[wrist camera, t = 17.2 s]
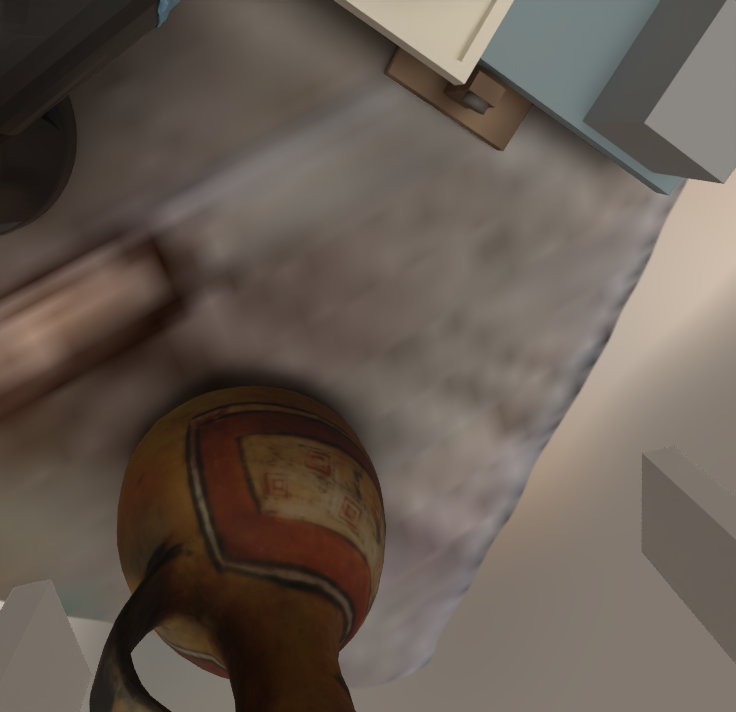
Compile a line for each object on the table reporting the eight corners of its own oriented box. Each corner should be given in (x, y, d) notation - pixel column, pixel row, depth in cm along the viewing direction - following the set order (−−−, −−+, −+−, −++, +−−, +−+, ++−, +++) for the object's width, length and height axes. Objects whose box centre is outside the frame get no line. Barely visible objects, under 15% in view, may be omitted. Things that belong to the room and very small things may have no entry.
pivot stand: (384, 73, 45) (405, 64, 37) (504, -143, 41) (554, -201, 34) (496, 149, 47) (537, 155, 40) (618, -47, 44) (687, -80, 36)
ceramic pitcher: (331, 585, 60) (377, 994, 32) (111, 541, 55) (-60, 977, 27) (405, 403, 54) (541, 708, 26) (167, 336, 49) (24, 622, 21)
